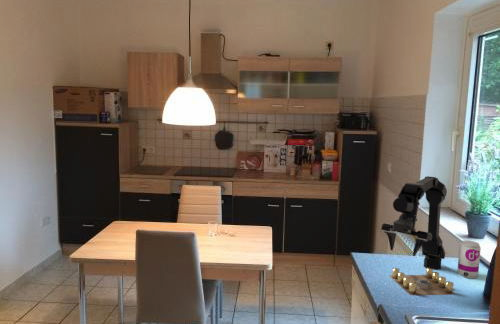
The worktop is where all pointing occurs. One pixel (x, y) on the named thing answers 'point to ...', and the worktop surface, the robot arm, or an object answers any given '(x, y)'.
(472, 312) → the worktop surface
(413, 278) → the board
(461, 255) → the supplement can
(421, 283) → the steel nut
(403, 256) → the worktop surface
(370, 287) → the worktop surface
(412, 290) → the brass spacers
